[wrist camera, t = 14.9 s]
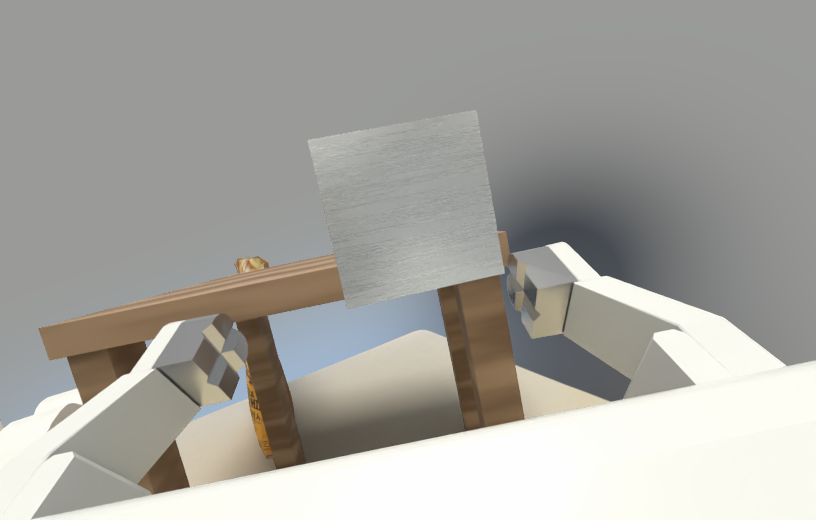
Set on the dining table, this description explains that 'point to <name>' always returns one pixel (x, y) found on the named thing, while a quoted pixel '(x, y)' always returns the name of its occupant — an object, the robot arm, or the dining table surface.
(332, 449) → the dining table surface
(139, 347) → the wooden stool
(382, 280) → the brushed metal block
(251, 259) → the pancake mix bag
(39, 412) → the heart sculpture
